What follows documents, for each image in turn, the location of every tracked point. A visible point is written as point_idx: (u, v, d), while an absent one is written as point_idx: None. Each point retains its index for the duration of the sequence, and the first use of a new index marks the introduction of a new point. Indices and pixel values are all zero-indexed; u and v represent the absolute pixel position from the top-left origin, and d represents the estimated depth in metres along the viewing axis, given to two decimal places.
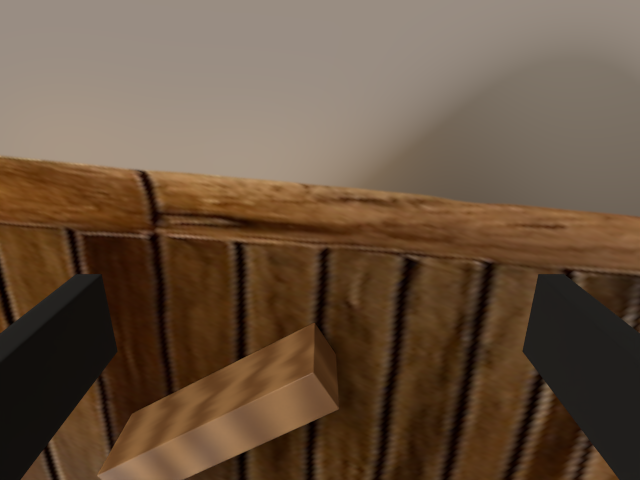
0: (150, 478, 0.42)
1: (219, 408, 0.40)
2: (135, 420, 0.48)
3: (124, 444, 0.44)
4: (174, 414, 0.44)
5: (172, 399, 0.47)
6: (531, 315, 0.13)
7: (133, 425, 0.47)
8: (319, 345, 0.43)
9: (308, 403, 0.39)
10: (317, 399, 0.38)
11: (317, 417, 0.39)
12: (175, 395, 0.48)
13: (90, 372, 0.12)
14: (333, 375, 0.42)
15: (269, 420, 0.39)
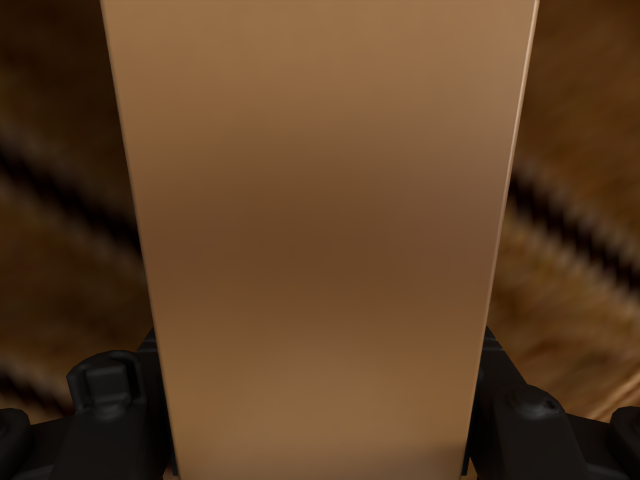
0: None
1: None
2: None
3: None
4: None
5: None
6: None
7: None
8: None
9: None
10: None
11: None
12: None
13: None
14: None
15: (301, 362, 0.06)
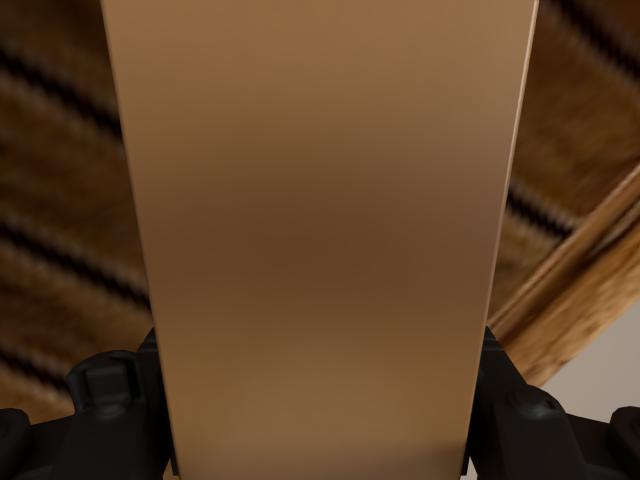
0: None
1: None
2: None
3: None
4: None
5: None
6: None
7: None
8: None
9: None
10: None
11: None
12: None
13: None
14: None
15: (302, 363, 0.06)
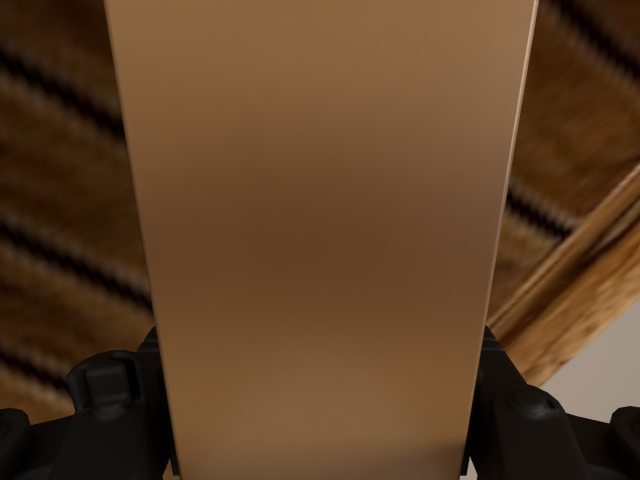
0: None
1: None
2: None
3: None
4: None
5: None
6: None
7: None
8: None
9: None
10: None
11: None
12: None
13: None
14: None
15: (302, 361, 0.06)
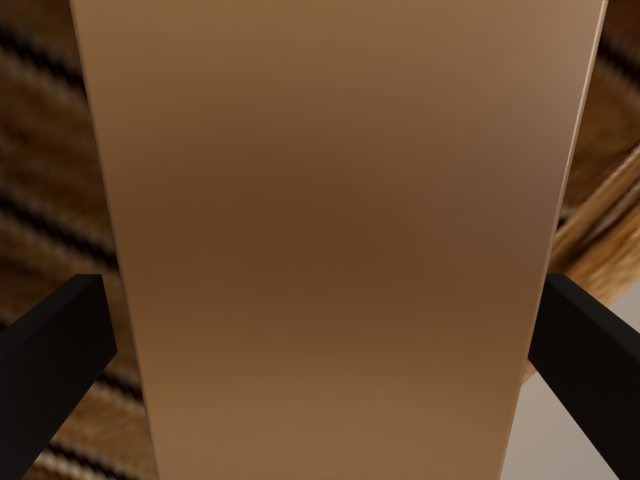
0: None
1: None
2: None
3: None
4: None
5: None
6: None
7: None
8: None
9: None
10: None
11: None
12: None
13: (90, 372, 0.12)
14: None
15: (310, 373, 0.05)
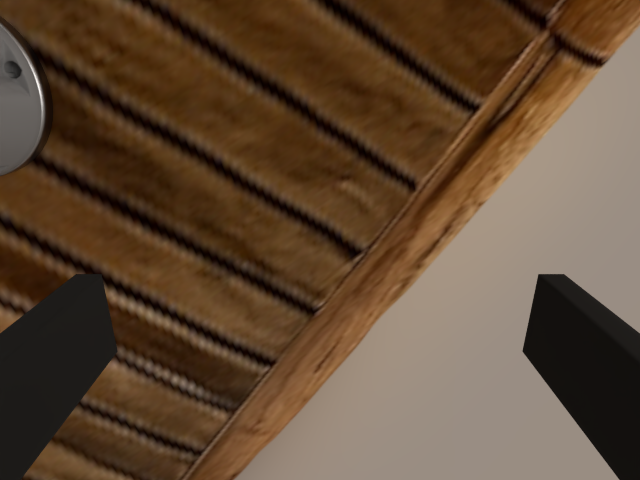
0: None
1: None
2: None
3: None
4: None
5: None
6: (531, 314, 0.13)
7: None
8: None
9: None
10: None
11: None
12: None
13: (90, 372, 0.12)
14: None
15: None
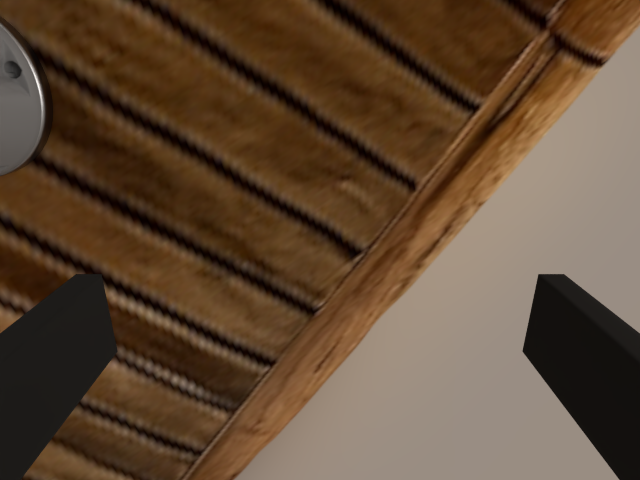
0: None
1: None
2: None
3: None
4: None
5: None
6: (531, 314, 0.13)
7: None
8: None
9: None
10: None
11: None
12: None
13: (90, 372, 0.12)
14: None
15: None
